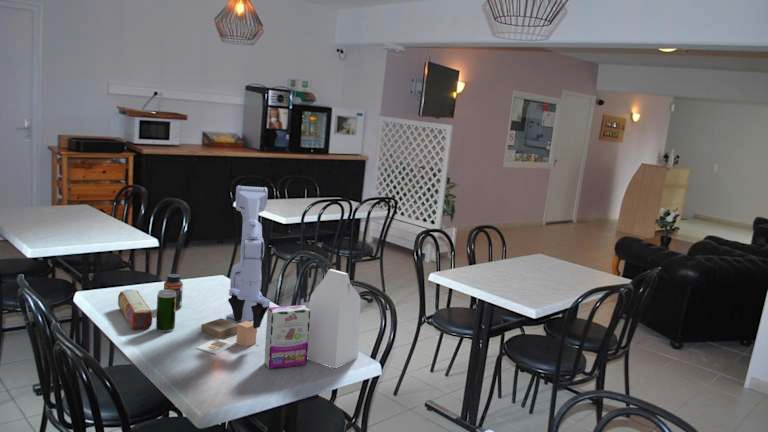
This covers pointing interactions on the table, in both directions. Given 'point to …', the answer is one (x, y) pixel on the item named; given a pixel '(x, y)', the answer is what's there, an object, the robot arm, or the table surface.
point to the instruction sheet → (216, 346)
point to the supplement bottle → (175, 287)
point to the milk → (334, 321)
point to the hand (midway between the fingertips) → (247, 324)
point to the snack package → (135, 309)
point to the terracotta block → (246, 334)
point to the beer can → (166, 310)
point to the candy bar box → (287, 336)
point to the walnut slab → (219, 328)
